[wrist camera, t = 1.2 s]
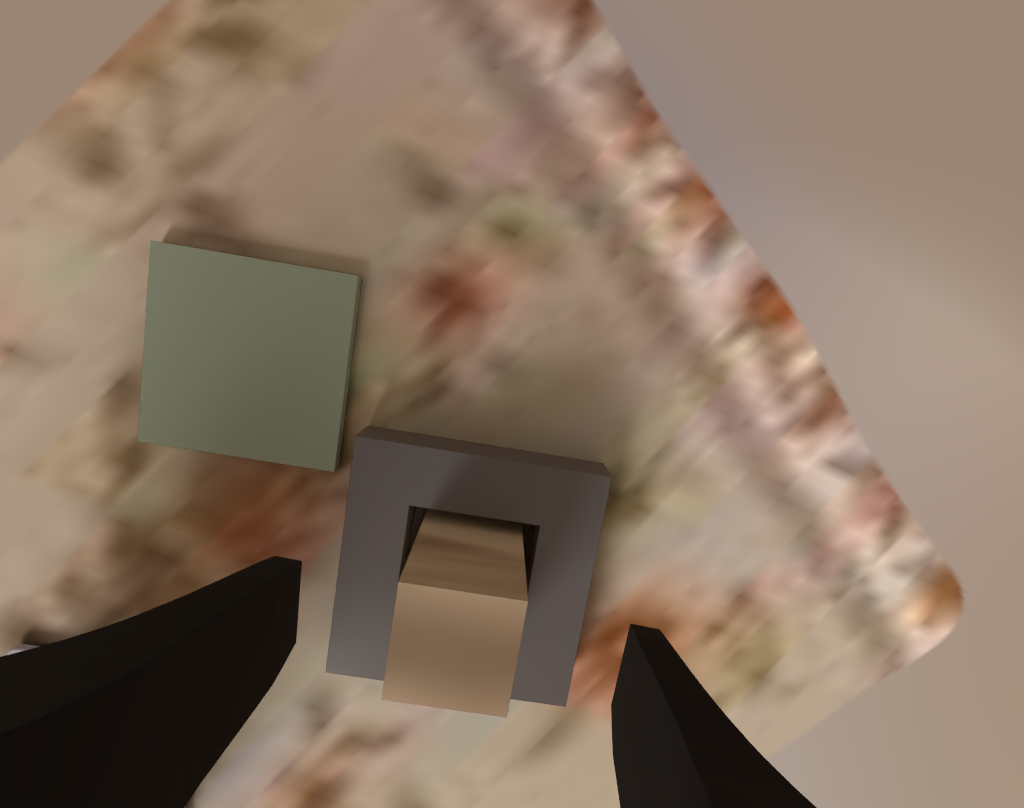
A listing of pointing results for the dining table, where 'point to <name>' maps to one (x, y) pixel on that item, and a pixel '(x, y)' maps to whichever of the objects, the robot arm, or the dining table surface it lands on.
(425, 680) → the beech block
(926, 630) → the dining table surface
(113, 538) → the dining table surface
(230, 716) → the robot arm
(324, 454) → the green mat
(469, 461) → the pocket plate
